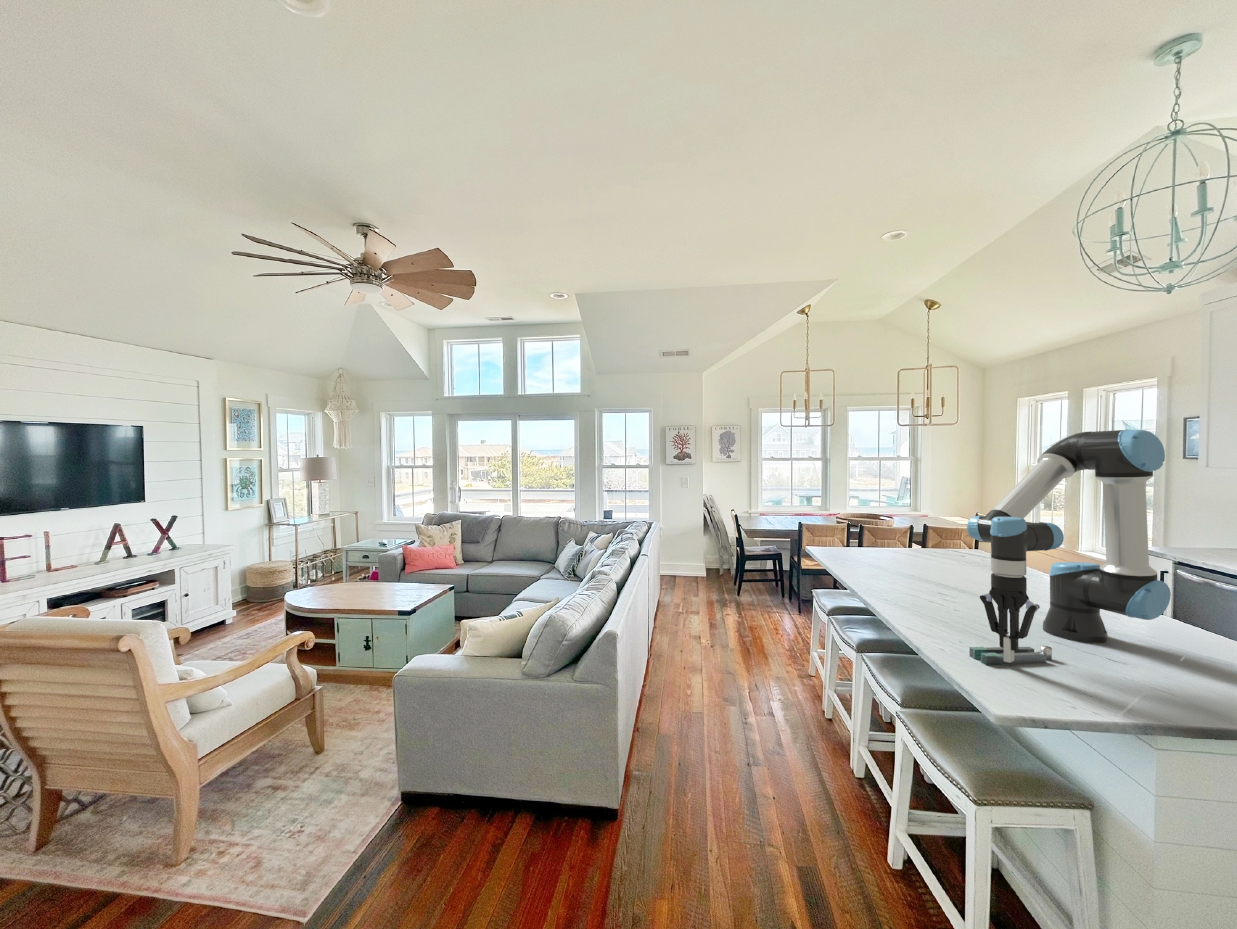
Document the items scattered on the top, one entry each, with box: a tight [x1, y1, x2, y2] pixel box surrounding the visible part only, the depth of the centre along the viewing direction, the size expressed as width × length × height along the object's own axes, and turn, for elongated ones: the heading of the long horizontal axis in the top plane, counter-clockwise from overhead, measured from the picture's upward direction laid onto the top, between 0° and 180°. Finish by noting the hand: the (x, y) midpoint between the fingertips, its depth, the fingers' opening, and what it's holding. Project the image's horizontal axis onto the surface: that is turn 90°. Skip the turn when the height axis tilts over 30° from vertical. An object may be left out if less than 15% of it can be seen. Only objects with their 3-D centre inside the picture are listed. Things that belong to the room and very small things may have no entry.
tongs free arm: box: [980, 651, 1048, 666], centre depth 134 cm, size 18×2×3 cm, turn 94°
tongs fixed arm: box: [969, 645, 1053, 661], centre depth 137 cm, size 21×4×3 cm, turn 91°
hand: (1008, 660), depth 132 cm, fingers closed
